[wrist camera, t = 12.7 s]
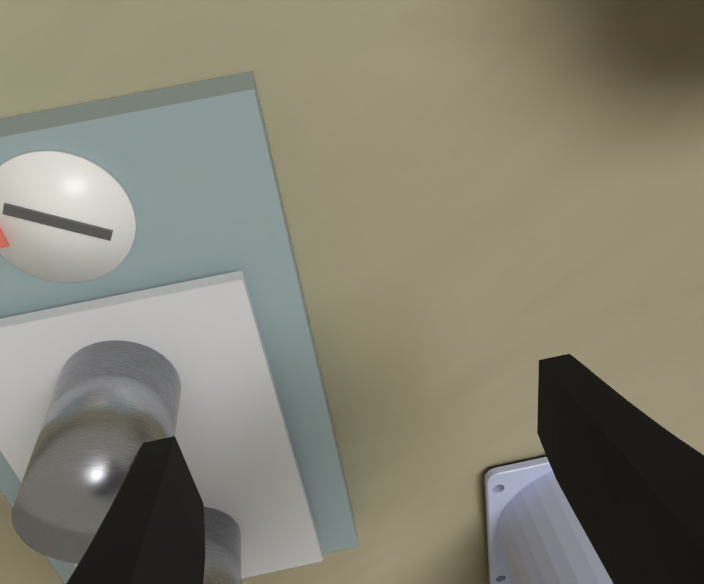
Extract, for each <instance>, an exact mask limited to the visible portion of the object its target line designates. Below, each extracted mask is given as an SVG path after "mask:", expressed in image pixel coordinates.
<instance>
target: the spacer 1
mask: <svg viewBox="0 0 704 584" xmlns="http://www.w3.org/2000/svg"><path fill="white" fill-rule="evenodd" d="M180 393H181V382H180V378H179V375H178V373H177V371H176V369H175V368H174V366H173V365H172V364H171V363H170V361H169V360H168V359H166V358H165V357H164V356H163V355H162V354H160V353H159V352H157V351H155V350H153V349H152V348H149V347H147V346H145V345H142V344H138V343H135V342H129V341H120V340H113V341H102V342H98V343H94V344H91V345H88V346H86V347H84V348H82V349H80V350H79V351H77V352H75V353H74V354H73V355H72V356H71V357H70V358H69V359H68V360H67V361H66V363H65V365H64V366H63V368H62V371H61V374H60V377H59V379H58V382H57V385H56V388H55V391H54V393H53V396H52V399H51V402H50V405H49V407H48V410H47V413H46V416H45V419H44V421H43V424H42V427H41V430H40V433H39V435H38V438H37V441H36V444H35V446H34V449H33V452H32V455H31V458H30V460H29V463H28V466H27V469H26V472H25V474H24V477H23V480H22V483H21V486H20V488H19V491H18V494H17V497H16V500H15V502H14V505H13V508H12V522H13V526H14V528H15V530H16V532H17V534H18V535H19V536H20V538H21V539H22V540H23V541H24V542H25V543H26V544H27V545H29V546H30V547H31V548H33V549H34V550H36V551H38V552H40V553H41V554H44V555H46V556H48V557H51V558H53V559H56V560H60V561H64V562H69V563H74V564H79V562H80V560H81V559H82V557H83V555H84V554H85V552H86V550H87V549H88V547H89V545H90V543H91V542H92V540H93V538H94V536H95V534H96V532H97V531H98V529H99V527H100V525H101V523H102V521H103V520H104V518H105V516H106V514H107V512H108V510H109V509H110V507H111V505H112V503H113V501H114V499H115V497H116V495H117V493H118V491H119V489H120V487H121V485H122V483H123V481H124V479H125V477H126V475H127V473H128V471H129V469H130V467H131V465H132V463H133V461H134V458H135V456H136V454H137V452H138V450H139V448H140V447H141V445H142V444H143V443H144V442H149V441H154V440H159V439H163V438H168V437H173V436H175V432H176V424H177V417H178V409H179V401H180Z"/></svg>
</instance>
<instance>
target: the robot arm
mask: <svg viewBox="0 0 704 584" xmlns="http://www.w3.org/2000/svg"><path fill="white" fill-rule="evenodd" d="M537 433H538V435H539V438H540V441H541V443H542V446H543V448H544V451H545V453H546V456H547V457H542V458H538V459H533V460H528V461H524V462H519V463H514V464H510V465H505V466H500V467H496V468H493V469H490V470H489V471H488V472H487V473H486V474H485V497H486V519H487V542H488V564H489V584H704V455H702V454H701V453H699V452H698V451H696V450H695V449H693V448H692V447H690V446H689V445H688V444H686V443H685V442H683V441H682V440H680V439H679V438H677V437H676V436H674V435H673V434H672V433H670V432H669V431H667V430H666V429H665V428H663V427H662V426H661V425H659V424H658V423H657V422H655V421H654V420H652V419H651V418H650V417H648V416H647V415H646V414H644V413H643V412H642V411H640V410H639V409H638V408H636V407H635V406H634V405H633V404H631V403H630V402H629V401H627V400H626V399H625V398H624V397H622V396H621V395H620V394H619V393H617V392H616V391H615V390H614V389H612V388H611V387H610V386H609V385H607V384H606V383H605V382H604V381H602V380H601V379H600V378H599V377H598V376H596V375H595V374H594V373H593V372H591V371H590V370H589V369H588V368H587V367H585V366H584V365H583V364H582V363H581V362H579V361H578V360H577V359H576V358H574V357H573V356H572V355H570V354H567V355H562V356H557V357H552V358H547V359H543V360H539V387H538V431H537ZM204 568H205V524H204V503H203V501H202V499H201V496H200V494H199V492H198V489H197V487H196V485H195V482H194V480H193V478H192V475H191V473H190V470H189V468H188V466H187V463H186V461H185V459H184V456H183V454H182V452H181V449H180V447H179V445H178V442H177V440H176V438H175V436H173V437H168V438H163V439H159V440H154V441H149V442H144V443H143V444H142V445H141V447H140V448H139V450H138V452H137V454H136V456H135V458H134V461H133V463H132V465H131V467H130V469H129V471H128V473H127V475H126V477H125V479H124V481H123V483H122V485H121V487H120V489H119V491H118V493H117V495H116V497H115V499H114V501H113V503H112V505H111V507H110V509H109V510H108V512H107V514H106V516H105V518H104V520H103V521H102V523H101V525H100V527H99V529H98V531H97V532H96V534H95V536H94V538H93V540H92V542H91V543H90V545H89V547H88V549H87V550H86V552H85V554H84V555H83V557H82V559H81V560H80V562H79V564H78V565H77V567H76V569H75V570H74V572H73V573H72V575H71V577H70V578H69V580H68V582H67V583H66V584H203V580H204Z"/></svg>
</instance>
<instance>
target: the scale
mask: <svg viewBox="0 0 704 584" xmlns="http://www.w3.org/2000/svg"><path fill="white" fill-rule="evenodd" d="M113 340H120V341H129V342H135V343H138V344H142V345H145V346H147V347H149V348H152V349H153V350H155V351H157V352H159V353H160V354H162V355H163V356H164V357H165V358H166V359H168V360H169V361H170V363H171V364H172V365H173V366H174V368H175V369H176V371H177V373H178V375H179V378H180V382H181V393H180V401H179V409H178V417H177V424H176V432H175V438H176V440H177V442H178V445H179V447H180V449H181V452H182V454H183V456H184V459H185V461H186V463H187V466H188V468H189V470H190V473H191V475H192V478H193V480H194V482H195V485H196V487H197V489H198V492H199V494H200V496H201V499H202V501H203V503H204V507H209V508H213V509H216V510H219V511H222V512H224V513H226V514H227V515H229V516H230V517H232V518H233V519H234V520H235V521H236V523H237V524H238V526H239V528H240V532H241V574H242V579H243V578H247V577H252V576H256V575H261V574H266V573H270V572H275V571H280V570H284V569H289V568H293V567H298V566H303V565H307V564H312V563H316V562H321V561H323V556H322V554H327V553H331V552H336V551H341V550H345V549H350V548H354V547H359V545H358V539H357V533H356V528H355V522H354V516H353V512H352V507H351V503H350V498H349V494H348V490H347V485H346V481H345V476H344V472H343V468H342V463H341V459H340V454H339V450H338V446H337V441H336V437H335V432H334V428H333V424H332V419H331V415H330V410H329V406H328V401H327V397H326V393H325V388H324V384H323V379H322V375H321V371H320V366H319V362H318V357H317V353H316V349H315V344H314V340H313V335H312V331H311V327H310V322H309V318H308V313H307V309H306V304H305V300H304V296H303V291H302V287H301V282H300V278H299V274H298V269H297V265H296V260H295V256H294V252H293V247H292V243H291V238H290V234H289V230H288V225H287V221H286V216H285V212H284V207H283V203H282V199H281V194H280V190H279V185H278V181H277V177H276V172H275V168H274V163H273V159H272V155H271V150H270V146H269V141H268V137H267V133H266V128H265V124H264V119H263V115H262V110H261V106H260V102H259V97H258V93H257V88H256V84H255V80H254V75H253V71H252V72H247V73H242V74H236V75H231V76H226V77H220V78H215V79H210V80H205V81H199V82H194V83H189V84H183V85H178V86H173V87H167V88H162V89H157V90H152V91H146V92H141V93H136V94H130V95H125V96H120V97H114V98H109V99H104V100H99V101H93V102H88V103H83V104H77V105H72V106H67V107H61V108H56V109H51V110H46V111H40V112H35V113H30V114H24V115H19V116H14V117H8V118H3V119H0V491H1V492H2V494H3V495H4V496H5V498H6V499H7V501H8V502H9V504H10V505H11V507H12V508H13V505H14V502H15V500H16V497H17V494H18V491H19V488H20V486H21V483H22V480H23V477H24V474H25V472H26V469H27V466H28V463H29V460H30V458H31V455H32V452H33V449H34V446H35V444H36V441H37V438H38V435H39V433H40V430H41V427H42V424H43V421H44V419H45V416H46V413H47V410H48V407H49V405H50V402H51V399H52V396H53V393H54V391H55V388H56V385H57V382H58V379H59V377H60V374H61V371H62V368H63V366H64V365H65V363H66V361H67V360H68V359H69V358H70V357H71V356H72V355H73V354H74V353H75V352H77V351H79V350H80V349H82V348H84V347H86V346H88V345H91V344H94V343H98V342H102V341H113ZM45 556H46V555H45ZM46 558H47V559H48V561H49V562H50V563H51V565H52V566H53V568H54V569H55V571H56V572H57V574H58V575H59V577H60V578H61V579H62V581H63V582H64V584H66V583H67V582H68V580H69V578H70V577H71V575H72V573H73V572H74V570H75V569H76V567H77V565H78V564H74V563H69V562H64V561H60V560H56V559H53V558H51V557H48V556H46Z"/></svg>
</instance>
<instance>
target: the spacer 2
mask: <svg viewBox="0 0 704 584" xmlns="http://www.w3.org/2000/svg"><path fill="white" fill-rule="evenodd" d="M204 524H205V568H204V580H203V584H242V574H241V532H240V528H239V526H238V524H237V523H236V521H235V520H234V519H233V518H232V517H230V516H229V515H227V514H226V513H224V512H222V511H219V510H216V509H213V508H209V507H204Z"/></svg>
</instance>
